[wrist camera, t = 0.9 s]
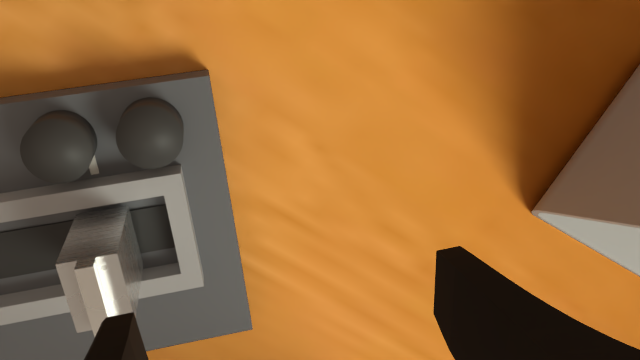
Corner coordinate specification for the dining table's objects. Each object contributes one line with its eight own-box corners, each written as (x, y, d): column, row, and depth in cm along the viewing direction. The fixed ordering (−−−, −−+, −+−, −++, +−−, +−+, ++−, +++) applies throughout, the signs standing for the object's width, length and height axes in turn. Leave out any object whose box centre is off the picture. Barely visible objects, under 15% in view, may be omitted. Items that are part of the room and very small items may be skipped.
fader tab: (143, 265, 24) (133, 331, 20) (93, 274, 24) (73, 343, 20) (128, 205, 23) (115, 262, 19) (76, 213, 23) (51, 273, 19)
